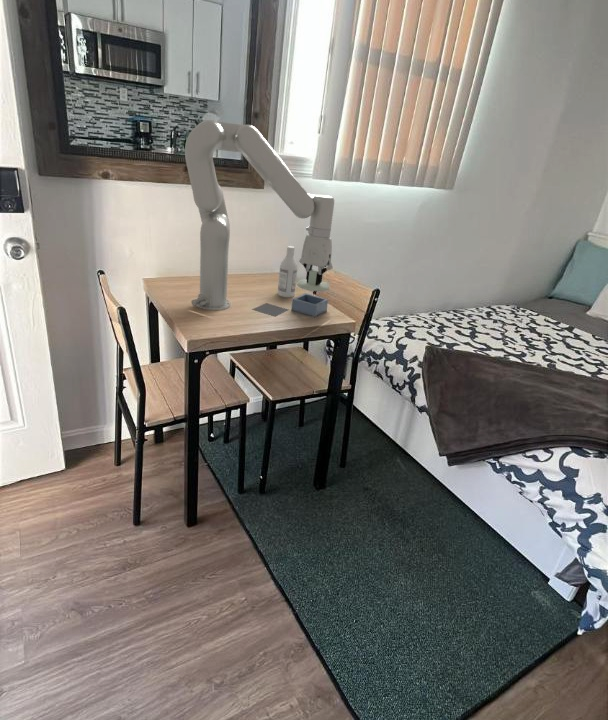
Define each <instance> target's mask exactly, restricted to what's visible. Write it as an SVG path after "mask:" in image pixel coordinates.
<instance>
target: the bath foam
mask: <svg viewBox="0 0 608 720" xmlns="http://www.w3.org/2000/svg"><path fill="white" fill-rule="evenodd" d="M278 273H279V276H278V285H277V296H280V297H282V298H294V296H295V292H296V285H297V276H298V263H297V260H296V259H295V246H293V245H288V246H287V247H286V255H285V256H284V258H283V259H282V261H280V266H279V272H278Z"/></svg>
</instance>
